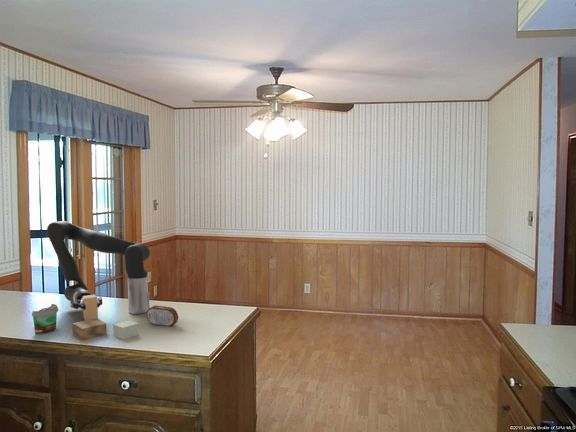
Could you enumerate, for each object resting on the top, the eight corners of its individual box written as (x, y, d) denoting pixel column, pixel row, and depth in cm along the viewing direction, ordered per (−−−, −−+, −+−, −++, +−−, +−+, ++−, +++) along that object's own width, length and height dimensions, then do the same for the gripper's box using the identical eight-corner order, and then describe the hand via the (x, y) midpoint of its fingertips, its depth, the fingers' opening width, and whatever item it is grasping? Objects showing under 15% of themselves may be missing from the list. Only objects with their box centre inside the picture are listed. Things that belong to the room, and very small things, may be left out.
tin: (178, 325, 201) (178, 307, 201) (174, 328, 198) (174, 309, 198) (150, 322, 206) (149, 304, 206) (145, 324, 203) (145, 306, 203)
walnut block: (96, 329, 197) (96, 318, 197) (106, 334, 190) (106, 323, 190) (72, 335, 190) (72, 323, 190) (82, 340, 183) (82, 328, 183)
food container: (45, 336, 188) (44, 312, 187) (32, 334, 189) (31, 311, 189) (65, 326, 200) (64, 304, 199) (53, 325, 202) (52, 303, 201)
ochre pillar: (95, 316, 206) (94, 294, 205) (98, 318, 202) (97, 296, 201) (83, 318, 203) (82, 296, 202) (86, 320, 199) (84, 298, 198)
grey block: (128, 331, 194) (128, 320, 194) (138, 335, 190) (137, 323, 189) (113, 336, 189) (113, 324, 188) (123, 339, 184) (122, 327, 184)
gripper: (66, 292, 209) (73, 300, 195) (98, 288, 217) (108, 295, 203) (66, 308, 210) (74, 317, 196) (99, 303, 218) (108, 311, 204)
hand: (91, 306), depth 200 cm, fingers closed on ochre pillar, 5 cm apart
